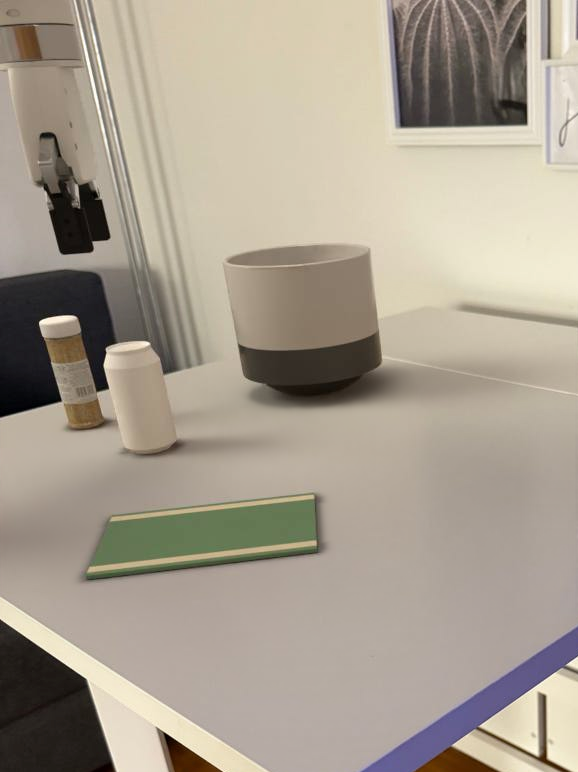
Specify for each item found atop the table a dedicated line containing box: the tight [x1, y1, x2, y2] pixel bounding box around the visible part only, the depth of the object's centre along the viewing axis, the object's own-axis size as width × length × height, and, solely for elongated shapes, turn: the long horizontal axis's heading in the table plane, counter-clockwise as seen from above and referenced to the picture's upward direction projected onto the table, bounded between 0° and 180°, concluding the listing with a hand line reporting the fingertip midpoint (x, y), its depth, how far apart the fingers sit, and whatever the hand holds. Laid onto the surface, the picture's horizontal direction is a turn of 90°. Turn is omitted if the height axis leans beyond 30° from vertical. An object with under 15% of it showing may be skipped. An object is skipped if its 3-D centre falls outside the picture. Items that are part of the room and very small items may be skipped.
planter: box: [222, 242, 383, 397], centre depth 127 cm, size 19×19×18 cm
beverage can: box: [103, 340, 178, 455], centre depth 109 cm, size 6×6×12 cm
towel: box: [85, 492, 319, 580], centre depth 88 cm, size 20×14×1 cm
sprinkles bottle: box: [38, 315, 105, 430], centre depth 118 cm, size 5×5×13 cm
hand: (87, 246), depth 96 cm, fingers open, 9 cm apart
